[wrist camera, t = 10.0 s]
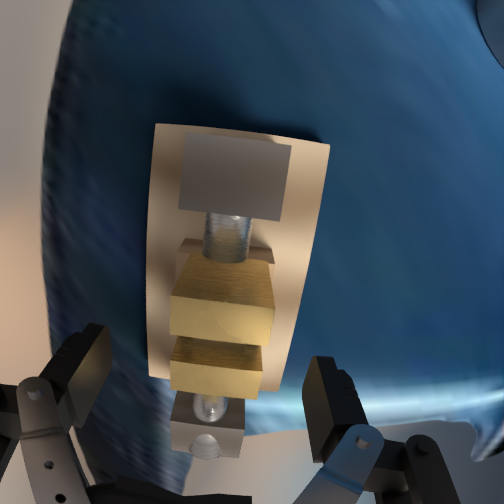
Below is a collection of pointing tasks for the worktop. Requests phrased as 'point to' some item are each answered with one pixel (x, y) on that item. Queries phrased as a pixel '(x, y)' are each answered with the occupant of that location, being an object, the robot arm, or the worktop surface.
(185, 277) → the slotted brass block
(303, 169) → the coupling base
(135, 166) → the worktop surface
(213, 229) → the shafts
